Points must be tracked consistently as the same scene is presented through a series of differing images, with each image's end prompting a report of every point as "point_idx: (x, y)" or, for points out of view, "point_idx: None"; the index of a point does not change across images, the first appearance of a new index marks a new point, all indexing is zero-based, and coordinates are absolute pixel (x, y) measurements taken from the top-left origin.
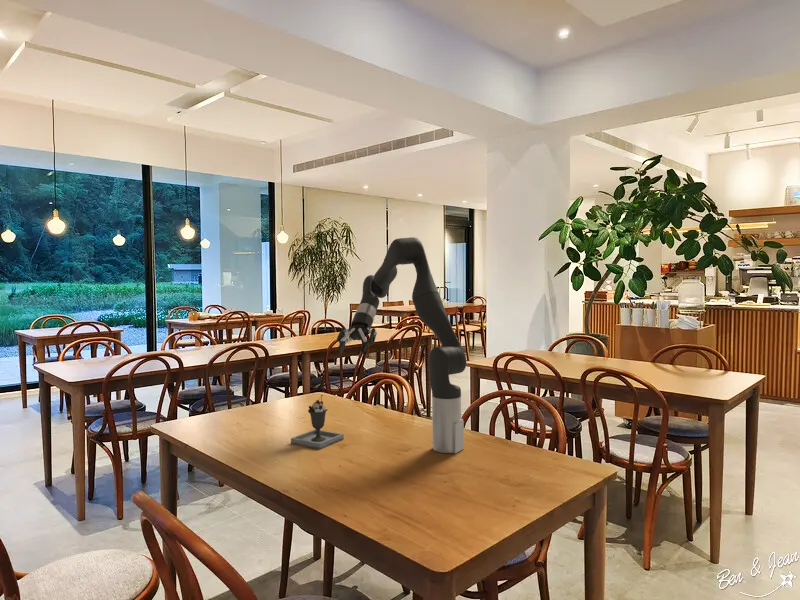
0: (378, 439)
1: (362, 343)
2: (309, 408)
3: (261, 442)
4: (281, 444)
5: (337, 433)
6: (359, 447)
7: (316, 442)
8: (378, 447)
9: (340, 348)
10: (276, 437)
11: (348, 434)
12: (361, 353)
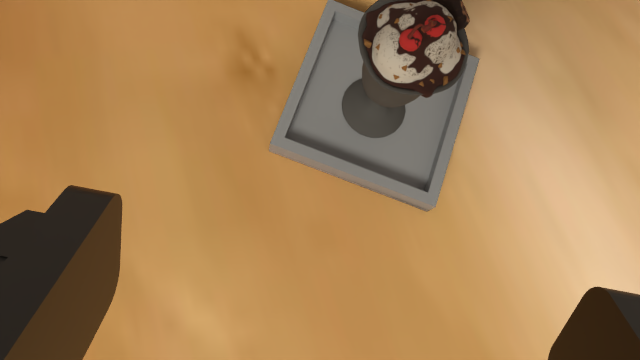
0: (98, 170)
1: (12, 334)
2: (460, 22)
3: (588, 73)
4: (501, 57)
5: (303, 150)
6: (166, 50)
7: (349, 14)
8: (79, 57)
9: (613, 295)
10: (568, 142)
11: (268, 230)
12: (116, 272)
